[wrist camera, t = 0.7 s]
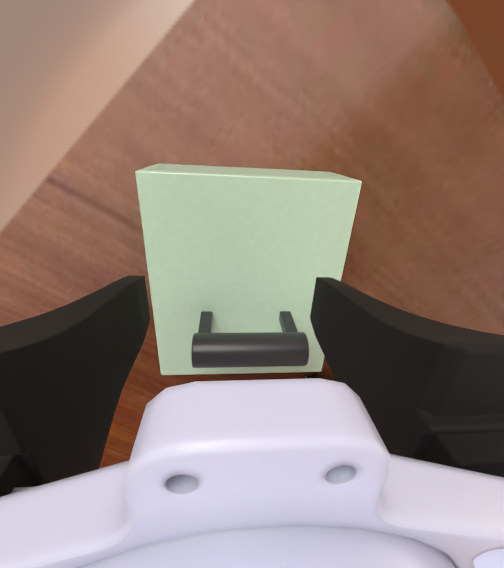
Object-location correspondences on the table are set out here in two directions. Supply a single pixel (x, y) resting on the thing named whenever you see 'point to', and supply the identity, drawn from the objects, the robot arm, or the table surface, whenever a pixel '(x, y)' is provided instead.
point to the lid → (241, 266)
